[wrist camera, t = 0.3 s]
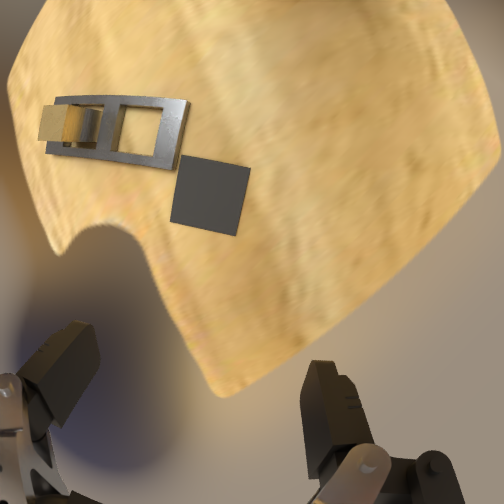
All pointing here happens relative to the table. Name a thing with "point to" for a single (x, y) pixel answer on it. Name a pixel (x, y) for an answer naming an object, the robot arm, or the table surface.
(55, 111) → the block
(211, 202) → the mat
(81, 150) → the grey slotted frame
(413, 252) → the table surface
